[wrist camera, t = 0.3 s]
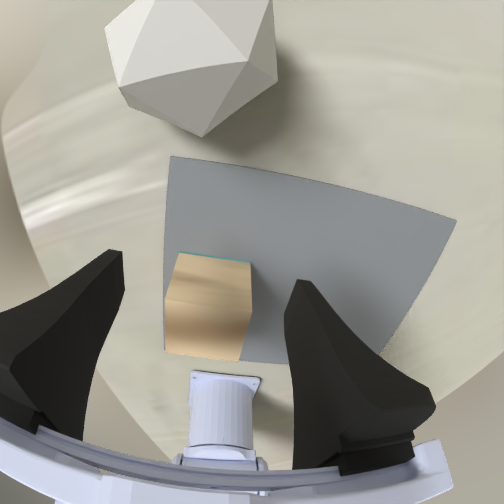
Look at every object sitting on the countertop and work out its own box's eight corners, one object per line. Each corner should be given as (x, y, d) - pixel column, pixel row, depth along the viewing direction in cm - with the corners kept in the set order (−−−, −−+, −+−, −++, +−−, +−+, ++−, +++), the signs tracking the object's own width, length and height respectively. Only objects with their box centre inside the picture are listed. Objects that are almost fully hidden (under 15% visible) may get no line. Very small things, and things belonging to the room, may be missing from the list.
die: (176, -17, 12) (46, 26, 7) (305, -32, 9) (182, -36, 4) (195, 81, 19) (96, 154, 14) (308, 92, 16) (224, 184, 11)
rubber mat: (369, 364, 32) (370, 365, 32) (164, 348, 29) (164, 350, 29) (455, 220, 21) (456, 221, 21) (170, 156, 18) (170, 157, 18)
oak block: (238, 312, 26) (238, 362, 21) (176, 303, 25) (165, 352, 20) (250, 261, 23) (252, 311, 18) (179, 251, 22) (164, 299, 17)
